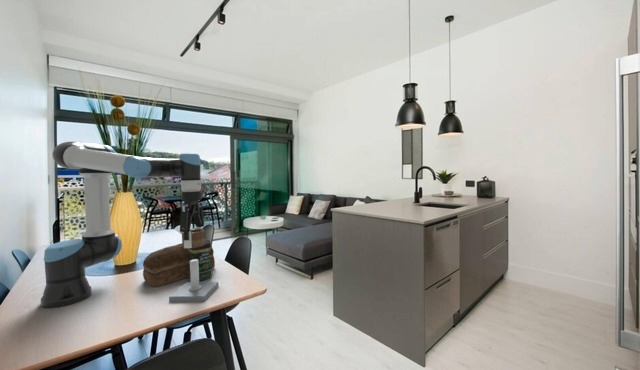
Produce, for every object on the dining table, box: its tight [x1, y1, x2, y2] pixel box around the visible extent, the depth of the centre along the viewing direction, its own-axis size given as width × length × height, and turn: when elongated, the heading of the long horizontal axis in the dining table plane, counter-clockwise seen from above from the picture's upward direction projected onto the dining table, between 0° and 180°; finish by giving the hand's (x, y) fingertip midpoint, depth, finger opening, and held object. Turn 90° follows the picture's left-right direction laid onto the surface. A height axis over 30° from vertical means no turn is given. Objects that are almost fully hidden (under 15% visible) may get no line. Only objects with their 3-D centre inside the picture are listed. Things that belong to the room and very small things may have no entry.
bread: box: [142, 243, 216, 288], centre depth 134 cm, size 15×32×16 cm, turn 142°
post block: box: [168, 259, 219, 303], centre depth 112 cm, size 14×14×14 cm
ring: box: [181, 228, 206, 248], centre depth 111 cm, size 8×8×6 cm
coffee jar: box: [189, 238, 213, 282], centre depth 128 cm, size 10×8×19 cm
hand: (193, 244), depth 111 cm, fingers closed on ring, 8 cm apart
